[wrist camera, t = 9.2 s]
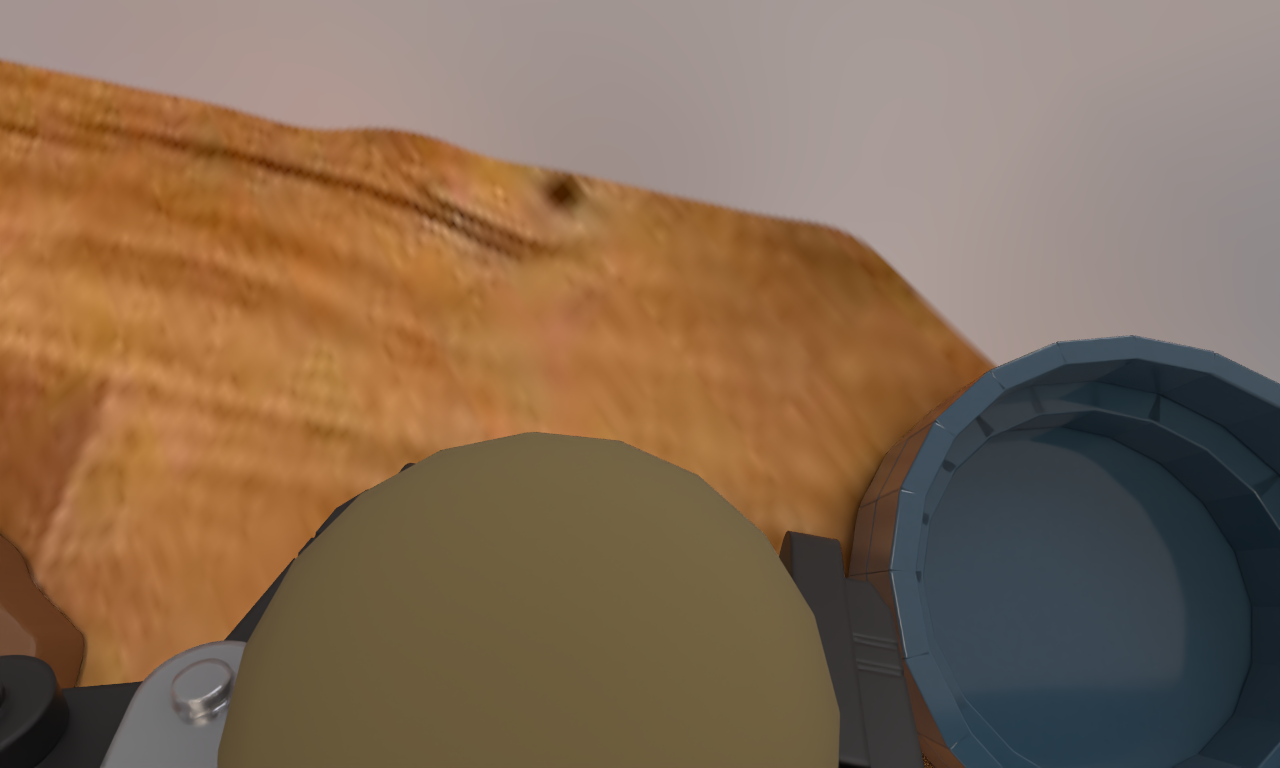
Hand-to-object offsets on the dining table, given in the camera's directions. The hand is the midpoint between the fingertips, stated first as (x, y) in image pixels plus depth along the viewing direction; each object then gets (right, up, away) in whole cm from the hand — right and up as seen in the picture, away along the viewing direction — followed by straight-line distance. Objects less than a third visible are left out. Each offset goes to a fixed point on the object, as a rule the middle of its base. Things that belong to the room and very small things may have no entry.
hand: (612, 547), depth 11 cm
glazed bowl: (+16, -5, +15) cm, 22 cm away
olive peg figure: (0, -3, +5) cm, 6 cm away
